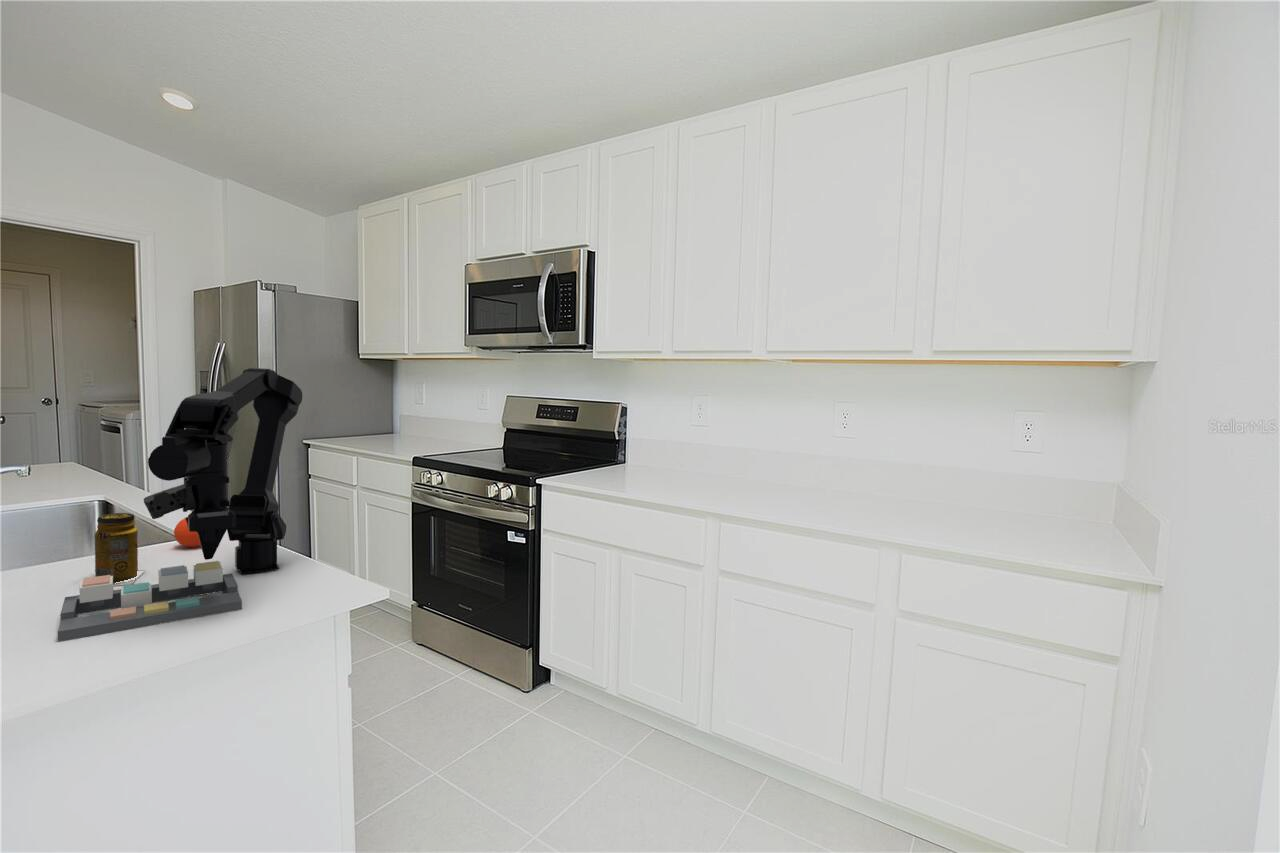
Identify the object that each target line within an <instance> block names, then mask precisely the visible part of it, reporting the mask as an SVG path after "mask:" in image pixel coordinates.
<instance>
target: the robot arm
mask: <svg viewBox="0 0 1280 853" xmlns="http://www.w3.org/2000/svg"><path fill="white" fill-rule="evenodd" d="M302 401H303V391H302V389H301V388H300V387H299V385H297V384H296V383H295V382H294V381H293V380H291V379H288V378H286V377H284V376H282V375H280V374H278V373H277V372H276V371H275V370H274V369H273V370H272V369H271V368H260V367H257V368H255V367H248V368H246V369H244V370H243V372H242V373H241V374H239V375H238V376H237V377H235V378H233V379H232V380H230V381H228V382H227V383H225V384H223V386H221V387H219V388H217V389H216V390H214V391H211V392H204V393H196V394H194V395H190V396H188V397H185V398H183V399H182V400H181V401H180V403H179V405H178V407H177V408H176V411H175V413H174V414H173V417H172V420H171V422H170V424H169V426H168V427H167V430H166V432H165V436H163V437H161V445H158V446H156V447H155V448H153V450H152V451H151V453H150V456H149V457H148V458H147V464H148V468H149V471H150V472H151V473H152V475H153V476H155V477H156V478H158V479H160V480H163V481H167V482H168V481H175V480H176V481H177V480H178V479H183V483H182V484H179V485H177V486H174V487H173V486H172V487H170V488H168V489H164V490H161V491H158V492H156V493H153V494H150V495H148V496H145V497H144V498H143V503H144V506H145V507H146V509H147V511H148V514H149V515H150V517H151V519H152V520H156V519H160V518H162V517H164V515H167V514H170V513H173V512H176V511H178V510H181V509H182V512H183V513H186V512H188V511H190V513H189V514H188V515H187V516H186V517H184V518H185V519H186V522H187V525H188V528H189V531H192V532H195V531H196V532H198V536H199V540H200V544H201V545H200V547H201V551H202V554H203V558H204V560H205V561H206V560H212V559H213V558H214V556H215V554H216V552H217V549H218V548H219V546H220V544H221V542H222V539H223V538H224V535H225V533H226V532H227V535H228V539H229V541H230V542H234V541H238V545H236V546H235V547H234V558H235V559H234V567H235V569H236V570H237V571H239V574H240V575H249V574H255V573H261V572H262V573H263V572H271V571H274V570H275V571H277V570H279V569H280V566H279V564H278V541H280V540H283V539H285V536H286V532H287V524H286V523H285V522H284V520H283V518H282V516H281V515H280V514H279V511H280V510H279V509H280V504H279V503H278V500H277V498H276V496H275V494H274V487H275V481H276V478H277V477H276V476H277V472H278V465H279V461H280V455H281V453H282V452H281V451H282V445H283V441H284V436H285V431H286V426H287V424H288V423H290V422H291V421H292V419H294V418H295V417H296V416H297V414H298V412H299V408H300V405H301V403H302ZM251 402H253V403H252V407H253V410H254V411H255V413H256V415H257V417H258V424H257V428H256V433H255V434H256V435H255V438H254V444H253V447H252V453H251V458H250V462H249V465H248V466H249V467H248V470H247V475H246V481H245V485H244V488H243V489H242V490H241V492H239V494H235V493H234V494H232V496H231V497H230V498H229V491H228V490H229V488H228V487H229V483H230V476H229V474H228V472H229V471H228V443H230V442H233V441H234V438H233V437H232V435H230V434H229V433H228V432H229V430H231V428H232V427H233V426H234V425H235V424H236V422H237V421H238V420H239V415H238V414H239V411H241V410H242V409H243V408H245V407H246V406H247V405H249V403H251Z"/></svg>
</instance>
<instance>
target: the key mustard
mask: <svg viewBox="0 0 1280 853" xmlns="http://www.w3.org/2000/svg"><path fill="white" fill-rule="evenodd" d="M223 569H224V568H223V565H222V563H221V561H219V560H214V561H213V560H212V561H206V562H200V563H199V562H198V563H195V564H193V579H194V582H195V585H196V586H199V585H202V588H203V590H204V589H211V588H214V583H219V582H223V575H224V570H223Z"/></svg>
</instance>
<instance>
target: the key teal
mask: <svg viewBox="0 0 1280 853" xmlns="http://www.w3.org/2000/svg"><path fill="white" fill-rule="evenodd" d="M151 585H152V582H149V581H146V582H140V583H133V584H128V585H123V586H121V588H120V589H121V607H120V609H122V608H128V607H135V606H136V608H139V607H144V605H147V604H153V602H152V589H151Z"/></svg>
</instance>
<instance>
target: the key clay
mask: <svg viewBox="0 0 1280 853" xmlns="http://www.w3.org/2000/svg"><path fill="white" fill-rule="evenodd" d="M113 590H114V586H113V576H110V575H105V576H97V577H94V576H90V577H83V579H81V580H80V584H79V591H78V592H79V595H80V603H85V602H90V607H93V606H100V605H104V600H105V599H112V598H113Z"/></svg>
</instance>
